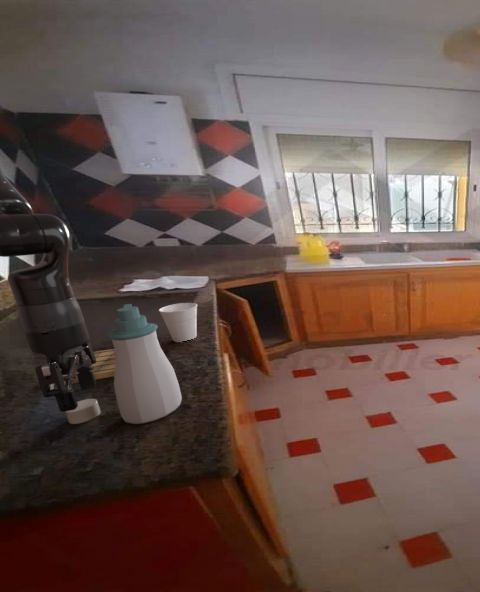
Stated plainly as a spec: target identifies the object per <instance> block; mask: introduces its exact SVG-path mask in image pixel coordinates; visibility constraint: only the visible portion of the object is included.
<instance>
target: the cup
mask: <svg viewBox="0 0 480 592" xmlns="http://www.w3.org/2000/svg"><path fill="white" fill-rule="evenodd" d="M158 312H159V313H160V316H161V318H162V319H163V321H164V323H165V326H166V328H167V331H168V332H169V334H170V337H171V339H172V340H173V342H175V343H179V342H180V343H183V342H182V341H187V340H191V339H193V340H195V339H196V338H197V337H198V335H197V334H198V331H197V327H198V326H197V324H198V323H197V321H198V320H197V316H198V304H197V303H195V302H180V303H174V304H173V303H172V304H169V305H165V306H163V307H160V308H159V309H158ZM194 338H195V339H194ZM191 341H192V340H191ZM187 342H188V341H187Z"/></svg>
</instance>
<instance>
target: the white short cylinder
mask: <svg viewBox="0 0 480 592" xmlns="http://www.w3.org/2000/svg"><path fill="white" fill-rule="evenodd" d="M77 404H78V407H77V408H76V409H75V410H71V411H66V412H64V413H65V416H66V419H67V422H68V423H69V424H70V425H78V424H82V423H85V422H89V421H91V420H93V419H95V418H97V417H98V416H100V415H101V412H102V411H101V408H100V405H99V401H98V399H96V398H86V399H82V400H79V401H77Z"/></svg>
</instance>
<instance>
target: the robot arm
mask: <svg viewBox="0 0 480 592" xmlns="http://www.w3.org/2000/svg"><path fill="white" fill-rule="evenodd" d="M1 165H2V164H0V257H3V258H11V257H22V256H23V257H24V256H34V255H43V256H42V258H41V260H40V261H39V263H37V264H35V265H33V266H29V267H25V268H22V269H18V270H14V271H12V272H11V273H9V274H8V276H7V283H8V285H9V287H10V290H11V293H12V296H13V299H14V301H15V305H16V307H17V314H18V318H19V321H20V324H21V327H22V329H23V332H24V335H25V338H26V341H27V343H28V346H29V348H30V351H31V352H32V353H34V354H37V355H38V354H40V355H44V356H45V361H46V364H43V365H37V366H36V367H35V369H34V371H35V373H36V377H37V380H38V383H39V386H40V389H41V392H42V395H43V398H45V399H46V398H52V397H55V401H56V402H57V406H58V409H59V412H61V413H65V412H66V411H71V410H75V409H76V408H77V407H78V404H77V402H78V401H77V398H76V395H75V392H74V390H73V384H72V382H73V380H75V379H76V375H77V377H78V380H79V383H78V384H79V386H80V389H81V390H89V389H94V388H95V387H96V386H97V381H96V380H95V378H94V374H93V371H91V370H93V369H94V366H93V365H92V364H96V358H95V355H94V352H95V351H94V350H93V347H92V344H91V342H90V339H91V338H90V335H89V331H88V328H87V324H86V321H85V318H84V315H83V312H82V309H81V306H80V304H79V302H78V300H77V299H76V296H75V293H74V290H73V286H72V283H71V280H70V276H69V254H70V248H71V232H70V229H69V227H68V225H67V224H66V223H65V222H64V221H63V219H60V218H59V217H58V216H56V215H53V214H51V213H34V210H33V208H32V205H31V204H30V202H28V200H27V199H26V198H25V197H24V196H23V195H22V194H21V193H20V192H19V191H18V189H17V188H15V186H14V185H13V184H12V183H11V182H10V180H9V179H8V177H7V176H6V174H5V171H4V169H3V167H2V166H1ZM87 355H88V356H89V357H88V356H87ZM78 372H79V373H78ZM63 375H67V376H63ZM64 381H66V382H65V384H64ZM49 384H51V386H50V387H49Z"/></svg>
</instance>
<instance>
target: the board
mask: <svg viewBox="0 0 480 592" xmlns="http://www.w3.org/2000/svg"><path fill="white" fill-rule="evenodd" d="M93 352H94V355H95V358H96V364H92V365H93V366H94V369H93V370H91V371H93V374H94V378H95V381H96V380H101V379H107V378H114V375H115V360H116V356H115V350H114V348H111V349H104V350H96V351H93ZM87 356H88V355H87ZM88 357H89V356H88ZM78 373H79V372H78ZM63 376H67V375H63ZM65 382H66V381H64V384H65ZM73 384H80V383H79V380H78V377H77V375H76V379H75V380H73V382H72V385H73ZM50 386H51V384H49V387H50Z"/></svg>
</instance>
